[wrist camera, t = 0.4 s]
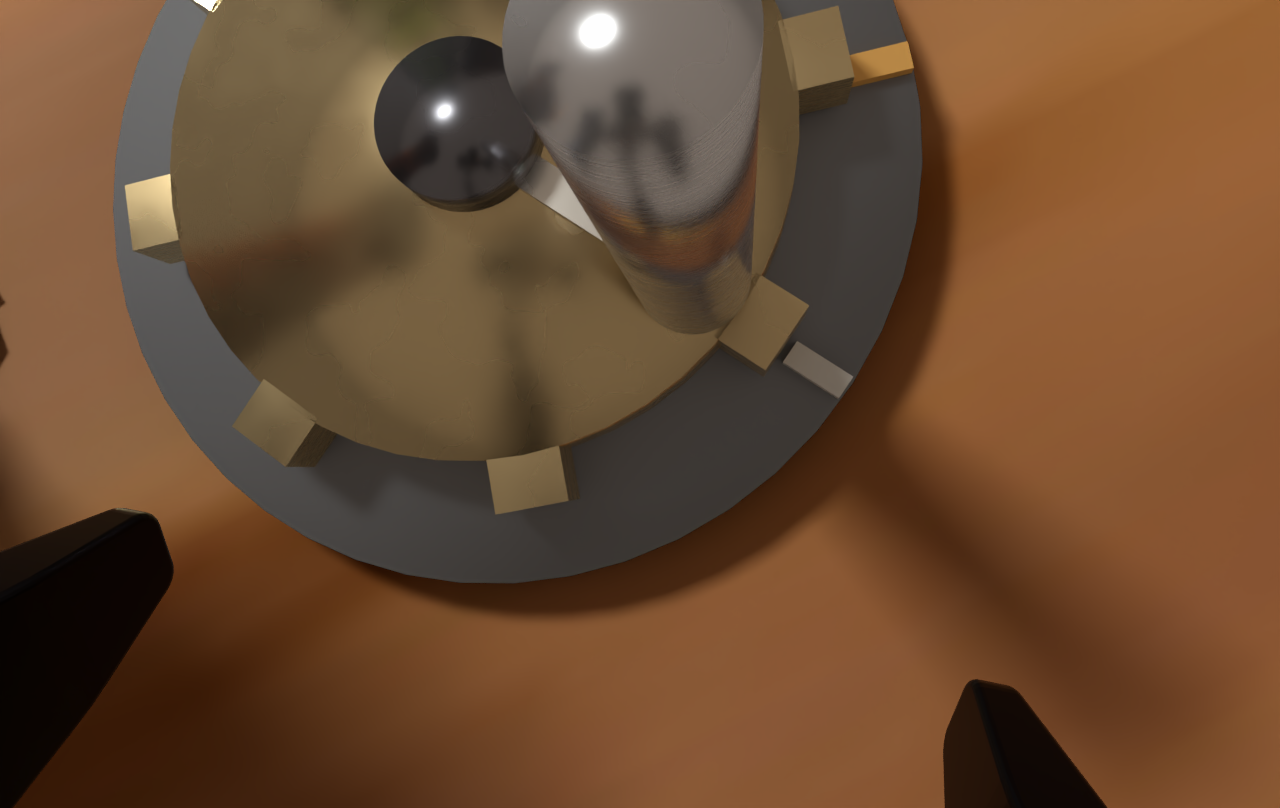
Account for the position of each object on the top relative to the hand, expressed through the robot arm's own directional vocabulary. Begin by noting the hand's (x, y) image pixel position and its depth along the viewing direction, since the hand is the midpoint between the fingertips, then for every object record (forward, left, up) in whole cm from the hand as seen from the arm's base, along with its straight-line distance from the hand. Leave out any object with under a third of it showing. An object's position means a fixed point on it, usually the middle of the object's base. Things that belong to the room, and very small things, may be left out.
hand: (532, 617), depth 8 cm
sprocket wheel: (+12, +1, -13) cm, 18 cm away
